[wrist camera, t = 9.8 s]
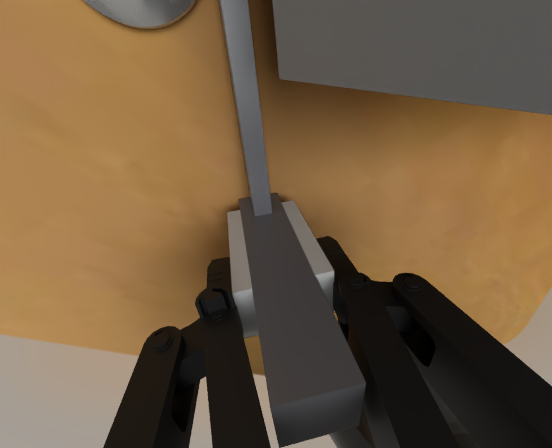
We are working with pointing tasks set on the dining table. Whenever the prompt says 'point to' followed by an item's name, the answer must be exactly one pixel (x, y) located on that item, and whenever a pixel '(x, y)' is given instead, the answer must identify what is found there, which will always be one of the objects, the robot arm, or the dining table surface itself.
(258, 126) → the l-shaped tool
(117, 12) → the steel token
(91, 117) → the dining table surface
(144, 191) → the dining table surface
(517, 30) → the cabinet
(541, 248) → the dining table surface
